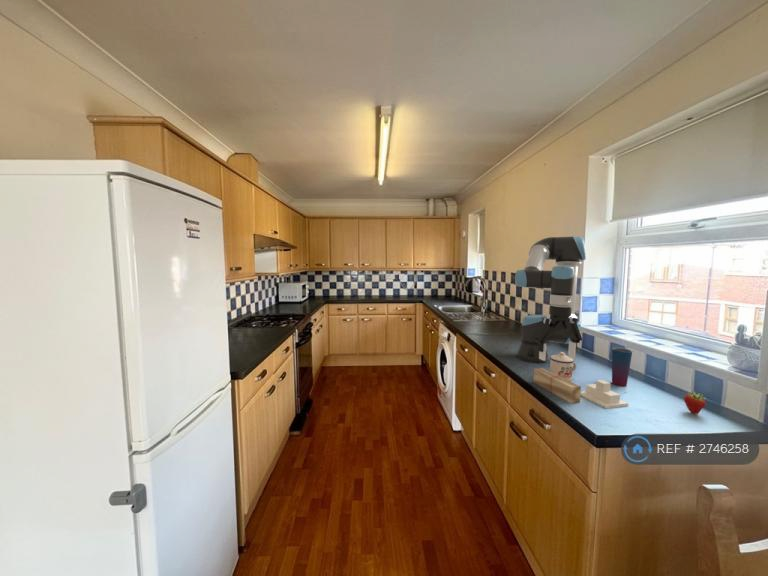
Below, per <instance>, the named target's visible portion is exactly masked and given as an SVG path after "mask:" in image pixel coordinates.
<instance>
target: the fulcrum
mask: <svg viewBox="0 0 768 576" xmlns="http://www.w3.org/2000/svg"><path fill="white" fill-rule="evenodd" d="M611 384H612V382H609V381H606V380H604V379H600V380H599V379H598V380H596V382H595V383H592V384H586V386H585V387H586V388H585V389H586V390H583V391H582V390H581V393H580V397H582V398H584V399H586V400H588V401H590V402H592V403H594V404H596V405H598V406H600V407H602V408H603V409H612V408H613V409H614V408H623V407H628V406H629V402H627V401H624V400H622V399H621V395H620V394H619V393H617V392H615V391H613V390H611Z"/></svg>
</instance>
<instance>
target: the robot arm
mask: <svg viewBox="0 0 768 576" xmlns="http://www.w3.org/2000/svg"><path fill="white" fill-rule="evenodd" d="M586 259H587V258H586V245H585V239H584V237H582V236H555V237H554V236H553V237H552V236H550V237H545V238H542V239H540V240H539V241H536V242H535V243H534V244H533V245H531V247H529V251H528V258H527V260H526V262H525V266H524V268H523V269H518V270H516V271H515V276H514V282H515V286H516V287H521V288H538V289H550V294H549V307H548V308H549V310H548V314H549V318H548V317H547V315H545V314H529V315H525V316H523V318H522V322H521V335H520V336H521V339H520V344H519V347H518V350H517V352H516V358H518V359H519V360H521V361H525V362H531V363H545V362H548V360H549V355H548V351H547V343H546V342H553V343H560V344H565V345H567V344H568V350H567V351H568V353H567V356H568V357H569V358H572V359H573V360H575V359H576V351H577V348H578V344H580V343H581V342H580V341H583V336H582V335H581V332H580V330H581V325H582V322H581V321H579V317H578V316H577V315H576V300H577V289H578V286H577V285H578V274H579V273H578V272H579V267H580V266H581V265H582V264H583V261H585V260H586ZM547 260H555V264H556V265H555V266H552V268H551V270H543V269H544V267H545V263H546V261H547Z"/></svg>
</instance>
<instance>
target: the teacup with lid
mask: <svg viewBox="0 0 768 576" xmlns="http://www.w3.org/2000/svg"><path fill="white" fill-rule="evenodd" d="M549 365H550V366H549V372H552V373H554V374H556V375H558V376H560V377H562V378H564V379H566V380H568V381H570V382H571V381H572V379H573V372H575V370H576V369H577V363H576V362H575V361H574V359H572V358H569V357H568V354H567V355H566V353H565V352H563V351H560V352H559V353H558V354H552V355H550V364H549Z"/></svg>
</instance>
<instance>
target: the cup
mask: <svg viewBox="0 0 768 576" xmlns="http://www.w3.org/2000/svg"><path fill="white" fill-rule="evenodd" d="M611 350H612V351H611V384H612V385H614V386H617V387H621V388H623V387H627V386H628V379H629V373H630V369H631V362H632V356H633V350H631V349H629V348H624V347H612V349H611Z"/></svg>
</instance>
